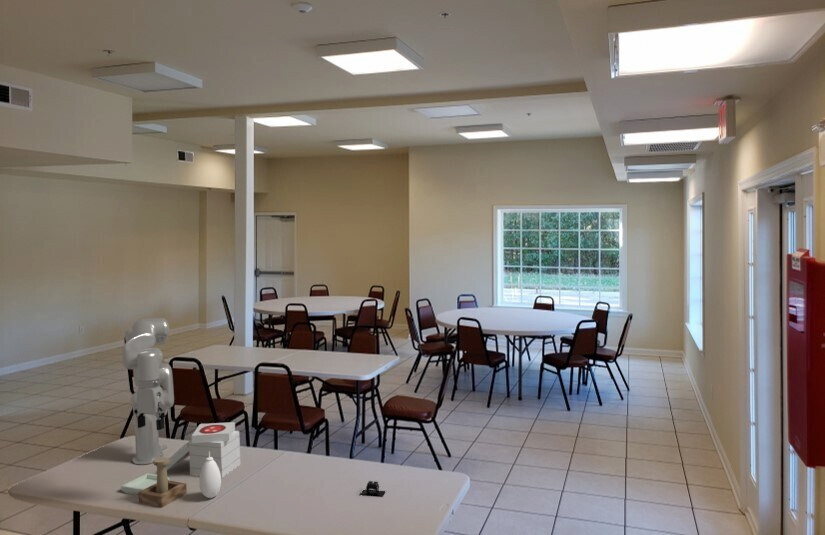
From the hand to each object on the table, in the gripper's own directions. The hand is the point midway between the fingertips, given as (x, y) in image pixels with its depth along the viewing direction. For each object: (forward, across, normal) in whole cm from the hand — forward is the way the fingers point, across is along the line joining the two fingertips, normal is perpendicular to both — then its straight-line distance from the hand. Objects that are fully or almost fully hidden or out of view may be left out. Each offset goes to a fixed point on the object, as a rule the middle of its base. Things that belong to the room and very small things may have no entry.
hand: (151, 428), depth 227 cm
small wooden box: (+27, -4, 0) cm, 27 cm away
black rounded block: (+28, -77, -33) cm, 89 cm away
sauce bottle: (+27, -21, -8) cm, 35 cm away
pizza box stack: (+26, +1, -28) cm, 39 cm away
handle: (+27, -4, 0) cm, 27 cm away
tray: (+26, +10, -5) cm, 29 cm away
